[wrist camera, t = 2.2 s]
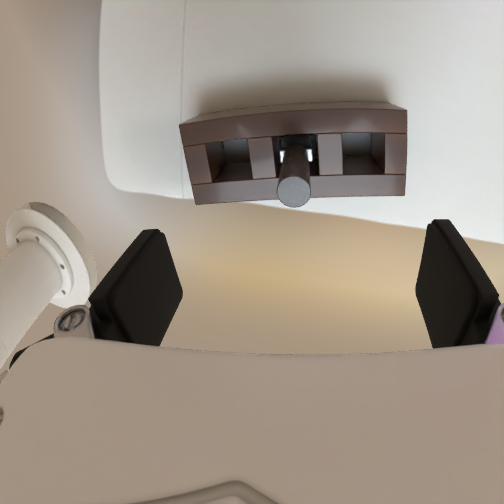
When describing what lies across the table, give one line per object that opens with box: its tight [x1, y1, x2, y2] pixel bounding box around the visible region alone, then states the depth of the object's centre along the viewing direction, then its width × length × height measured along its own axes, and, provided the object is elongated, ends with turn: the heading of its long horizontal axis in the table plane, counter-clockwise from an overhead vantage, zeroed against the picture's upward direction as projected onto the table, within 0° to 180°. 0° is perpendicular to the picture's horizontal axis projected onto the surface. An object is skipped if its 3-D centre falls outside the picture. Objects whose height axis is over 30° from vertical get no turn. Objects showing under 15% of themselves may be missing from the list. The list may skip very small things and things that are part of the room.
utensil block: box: [179, 102, 407, 205], centre depth 24 cm, size 7×17×5 cm, turn 98°
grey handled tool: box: [277, 135, 313, 207], centre depth 21 cm, size 2×2×12 cm
